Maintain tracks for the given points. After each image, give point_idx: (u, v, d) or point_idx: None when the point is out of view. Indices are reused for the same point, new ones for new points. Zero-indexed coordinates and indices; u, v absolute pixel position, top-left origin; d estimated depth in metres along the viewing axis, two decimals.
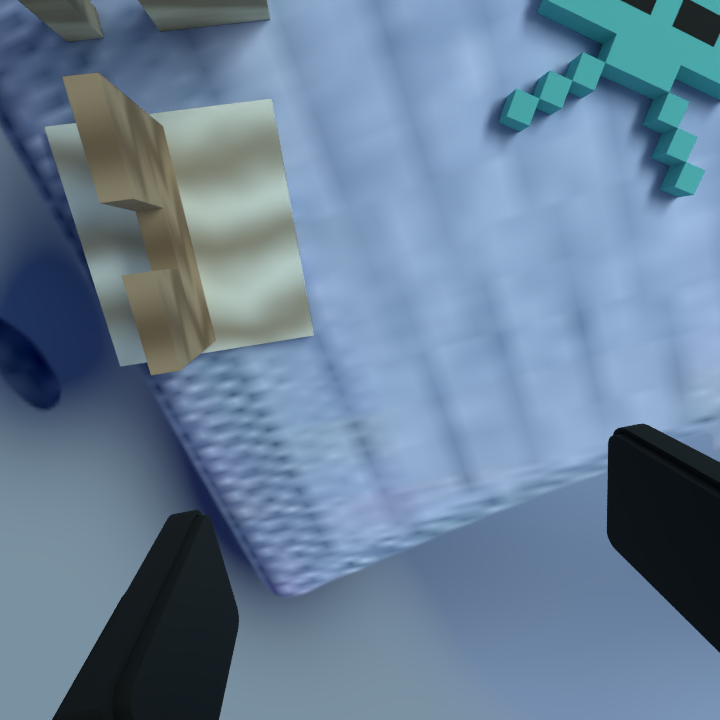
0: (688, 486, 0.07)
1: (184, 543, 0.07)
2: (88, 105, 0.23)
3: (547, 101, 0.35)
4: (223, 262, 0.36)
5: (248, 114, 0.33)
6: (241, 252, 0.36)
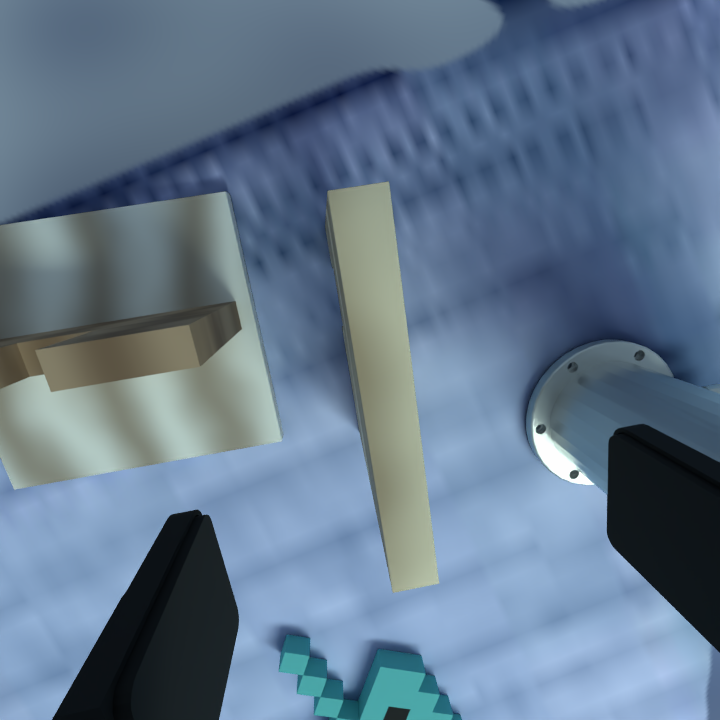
0: (688, 486, 0.07)
1: (184, 543, 0.07)
2: (159, 351, 0.18)
3: (301, 681, 0.36)
4: (91, 386, 0.28)
5: (264, 418, 0.30)
6: (108, 407, 0.29)
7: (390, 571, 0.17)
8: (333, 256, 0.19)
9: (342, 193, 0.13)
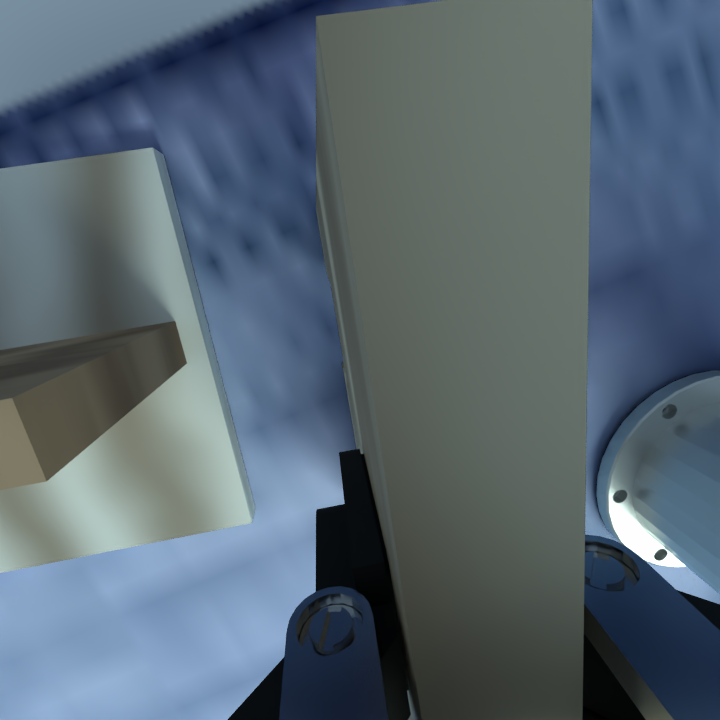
0: None
1: (366, 470, 0.09)
2: None
3: None
4: None
5: (225, 492, 0.20)
6: None
7: None
8: (332, 269, 0.09)
9: (385, 31, 0.03)
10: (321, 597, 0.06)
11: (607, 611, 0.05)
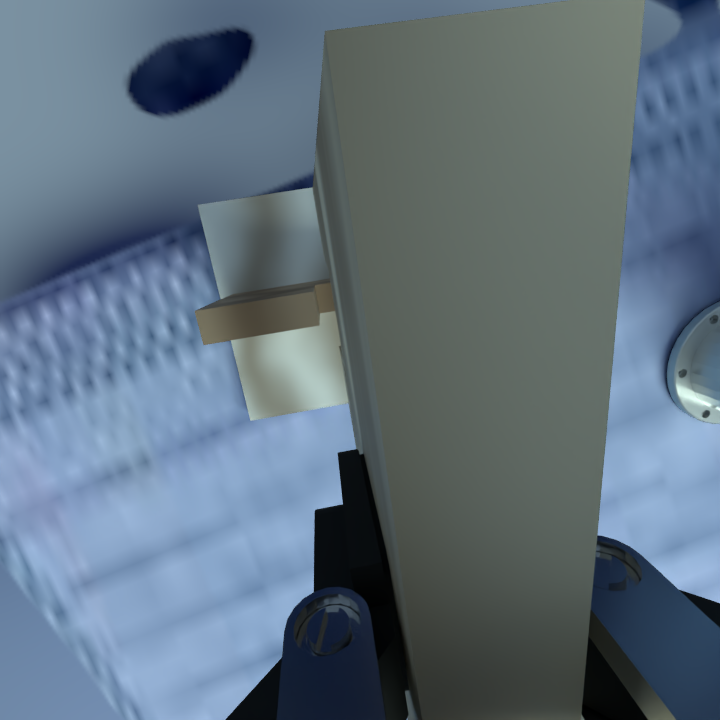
0: None
1: (365, 470, 0.09)
2: None
3: None
4: (325, 331, 0.34)
5: None
6: (335, 350, 0.34)
7: None
8: (331, 263, 0.09)
9: (405, 49, 0.02)
10: (319, 597, 0.06)
11: (609, 611, 0.05)
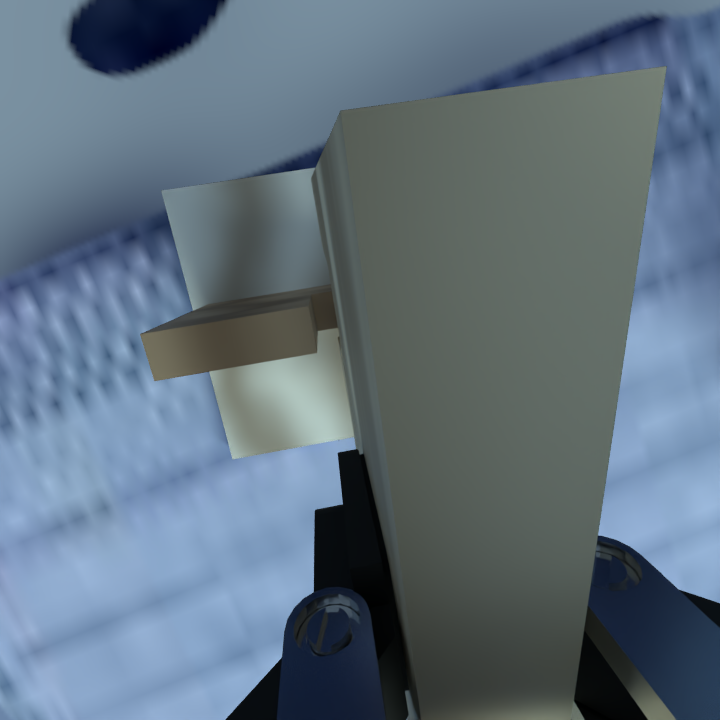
0: None
1: (365, 470, 0.09)
2: None
3: None
4: (324, 349, 0.27)
5: None
6: (337, 372, 0.28)
7: None
8: (332, 269, 0.09)
9: (421, 128, 0.02)
10: (319, 598, 0.06)
11: (609, 610, 0.05)
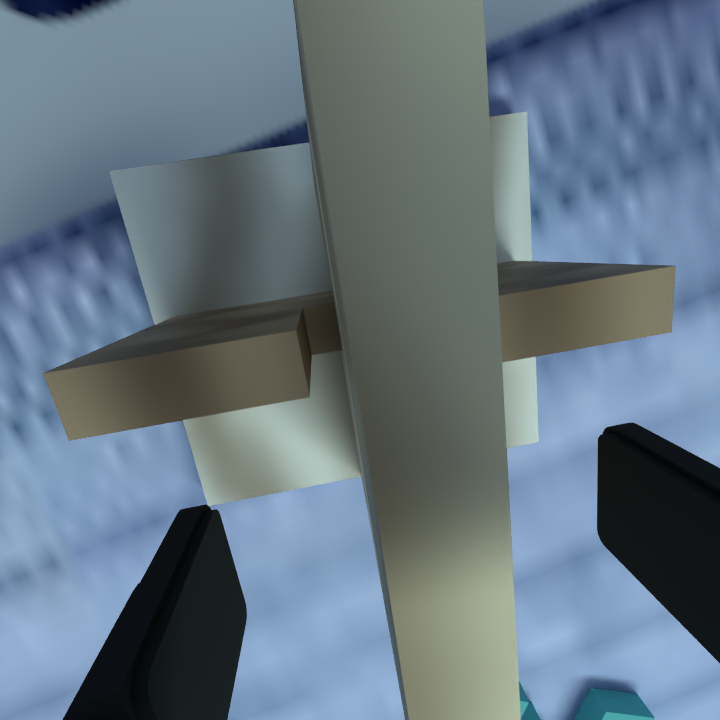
0: (673, 484, 0.07)
1: (195, 537, 0.08)
2: (624, 307, 0.12)
3: None
4: (321, 372, 0.22)
5: (522, 413, 0.24)
6: (337, 400, 0.22)
7: None
8: (321, 210, 0.11)
9: None
10: None
11: None
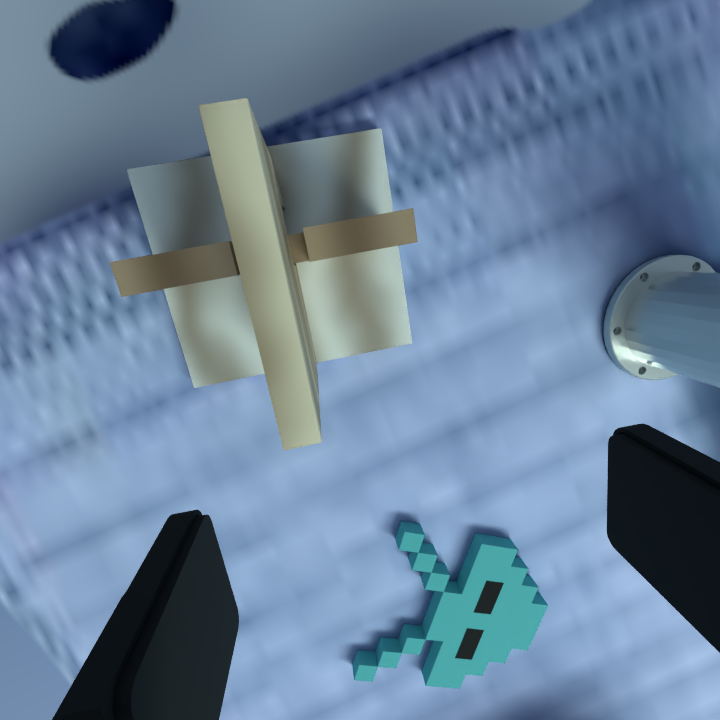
0: (688, 486, 0.07)
1: (184, 543, 0.07)
2: (390, 229, 0.24)
3: (416, 558, 0.43)
4: None
5: (399, 323, 0.36)
6: None
7: (280, 431, 0.21)
8: None
9: (210, 107, 0.16)
10: None
11: None
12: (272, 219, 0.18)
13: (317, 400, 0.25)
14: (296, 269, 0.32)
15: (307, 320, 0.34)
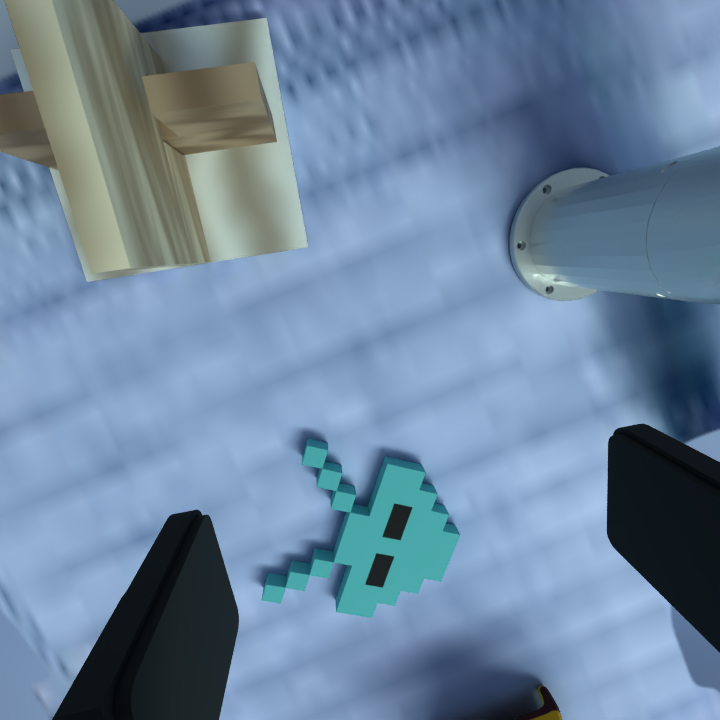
0: (688, 486, 0.07)
1: (184, 543, 0.07)
2: (232, 83, 0.25)
3: (320, 475, 0.43)
4: None
5: (293, 225, 0.36)
6: None
7: (86, 252, 0.21)
8: None
9: None
10: None
11: None
12: (56, 18, 0.18)
13: (158, 253, 0.25)
14: (178, 156, 0.32)
15: (194, 213, 0.34)
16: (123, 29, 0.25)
